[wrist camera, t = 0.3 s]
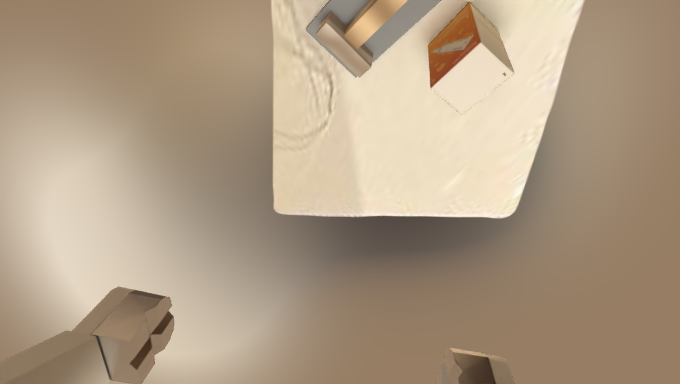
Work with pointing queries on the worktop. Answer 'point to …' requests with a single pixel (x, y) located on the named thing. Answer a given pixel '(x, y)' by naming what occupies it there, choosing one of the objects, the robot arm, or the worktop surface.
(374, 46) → the mat
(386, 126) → the worktop surface
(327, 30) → the wooden t-shaped stand
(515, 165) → the worktop surface
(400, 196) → the worktop surface
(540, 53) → the worktop surface
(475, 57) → the small box
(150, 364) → the robot arm
